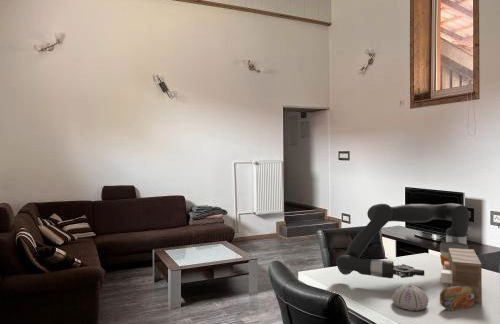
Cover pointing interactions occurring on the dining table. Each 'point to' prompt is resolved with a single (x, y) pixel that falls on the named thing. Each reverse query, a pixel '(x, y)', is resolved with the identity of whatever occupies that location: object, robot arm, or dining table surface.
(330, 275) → the dining table surface
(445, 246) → the reusable coffee cup
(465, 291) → the tin
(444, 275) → the cream key
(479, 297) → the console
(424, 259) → the dining table surface
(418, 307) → the sea urchin shell
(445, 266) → the terracotta key
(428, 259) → the dining table surface
